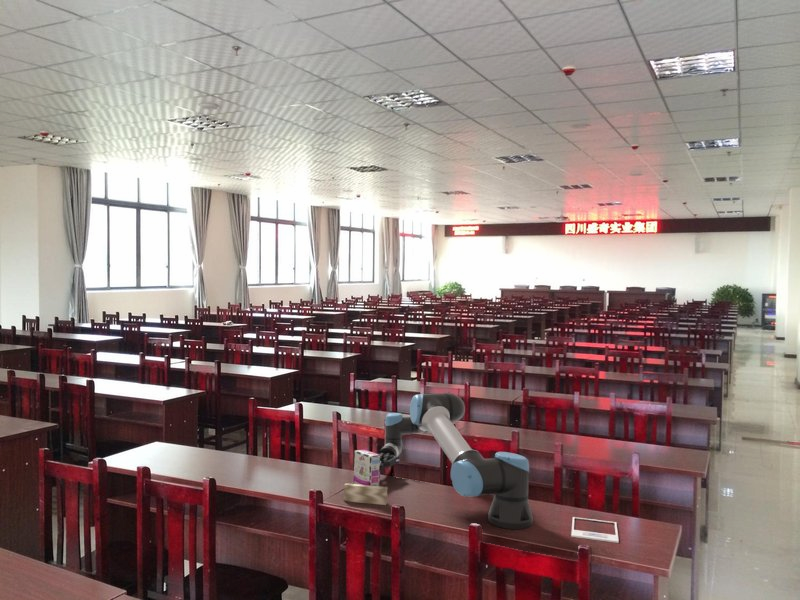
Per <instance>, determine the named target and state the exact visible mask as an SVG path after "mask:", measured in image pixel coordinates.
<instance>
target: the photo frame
mask: <svg viewBox="0 0 800 600" xmlns="http://www.w3.org/2000/svg"><path fill="white" fill-rule="evenodd" d="M575 519H576V520H585V521H593V522H599V523H600V522H601V523H607V524H614V532H615V534H611V533H602V532H601V533H600V532H595V531H587V530H579V529H575ZM571 521H572V523H571V535H570V537H571V538H577V539H585V540H586V539H587V540H591V541H592V540H593V541H602V542H609V543H614V544H615V543H617V544H619V532H618V525H617V521H608V520H599V519H593V518H584V517H576V516H572V520H571Z"/></svg>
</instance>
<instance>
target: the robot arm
mask: <svg viewBox="0 0 800 600" xmlns="http://www.w3.org/2000/svg"><path fill="white" fill-rule="evenodd" d="M409 404H410V405H409V406H410V407H409V416H404V417H403V414H402V413H401V412H389V413H387V414H386V416H385V420H384V421H385V422H384V429H385V430H384V434H385V435H384V446H382V447H381V449H380V450H379V452H378V453H377V454H378V455H381V456H380V470H383V469H384V468H385V467H386V468H387V469H389V468H390V467H393V466H394V465H396V464H400V454H402V451H403V448H404V444H403V442H402V439H403V435H412V434H428V433H429V434H430V433H431V434H432V436H433V437H434V439H435V440H436V443H438V444H439V446H440V448H441V450H442V451H443V452H444V455H446V457H447V458H448V460H449V461H450V463H451V468H450V480H451V481H452V482H451V484H452V486H453V488H454V489H455V491H456V493H458V494H459V496H462V497H472V498H473V497H478V496H479V497H480V496H487V495H493V499H492V502H491V505H490V508H489V510H488V514H487V520H488V522H489V523H490V524H491V525H493V526H496V527H498V528H502V529H508V530H523V529H528V528H530V527H532V525H533V519H534V518H533V513H532V511H531V510H532V509H531V507H530V504H529V481H530V480H529V478H530V475H529V474H530V461H529V459H528V458H526V457H525V456H523V455H520V454H517V453H513V452H507V451H498V452H496V453H495V454H494V457H493V458H484V456H483V455H482V454H481V452H479V451H478V450H475V449H473V448H472V447H471V446H470V445H469V443H468V442H467V440H465V438H464V437H463V436H462V434H461V433H460V431H459V430H458V429H457V427H456V426H455V425H454V423H456V422H457V421H460V420H461V419H462V418H463V417H464V415H465V413H466V406H465V405H466V404H465V402H464V400H462V398H461V397H460V396H458V395H456V394H455V393H450V392H445V393H444V392H443V393H442V392H441V393H439V392H438V393H420V394H415V395H413V397H412V398H411V401H410V403H409Z"/></svg>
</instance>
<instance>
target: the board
mask: <svg viewBox="0 0 800 600" xmlns="http://www.w3.org/2000/svg"><path fill="white" fill-rule="evenodd" d="M343 502H351V503H362V504H370V505H381V506H387V504H388V486H382V485H381V486H380V485H379V486H370V485H359V484H354V483H348V482H346V483H344V484H343Z"/></svg>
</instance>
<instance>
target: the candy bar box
mask: <svg viewBox="0 0 800 600" xmlns="http://www.w3.org/2000/svg"><path fill="white" fill-rule="evenodd" d="M380 456H381V455H378V453H376V452H373V451H370V450H367V449H358V450H357V449H356V450H354V457H353V458H354V461H353V484H359V485H370V486H380V482H381V481H380V480H381V479H380V478H381V469H380Z"/></svg>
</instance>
